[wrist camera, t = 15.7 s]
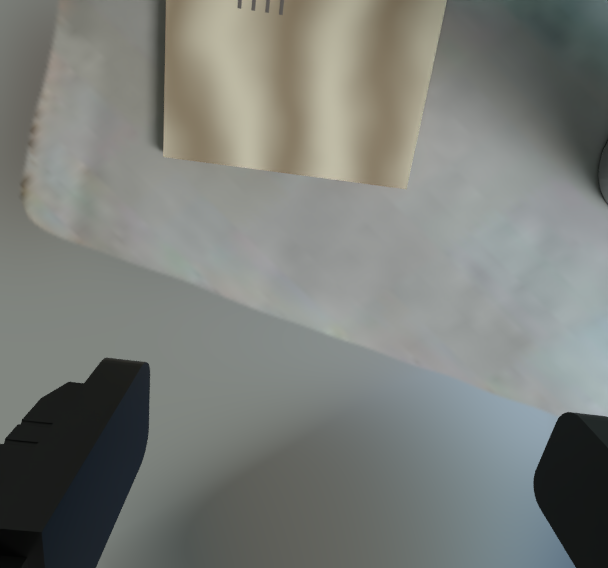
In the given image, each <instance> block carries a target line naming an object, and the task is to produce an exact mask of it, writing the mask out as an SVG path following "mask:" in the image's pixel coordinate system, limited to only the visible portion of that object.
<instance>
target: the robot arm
mask: <svg viewBox="0 0 608 568" xmlns="http://www.w3.org/2000/svg"><path fill="white" fill-rule="evenodd" d="M599 184H600V190H601V192H602V194H603V197H604V199H605V201H606V202H607V203H608V142H607V144H606V146H605V148H604V150H603V153H602V156H601V160H600V164H599ZM149 390H150V368H149V364H148V363H147V362H139V361H130V360H122V359H113V358H104V359H103V360H102V361H101V362H100V364H99V365H98V366H97V367H96V369H95V370H94V371H93V373H92V374H91V375H90V377H89V378H88V379H87V380H86V382H85V383H75V382H68V383H66V384H64V385H63V386H61V387H59V388H58V389H56V390H54V391H53V392H51V393H49V394H47V395H46V396H44V397H42V398H41V399H40V400H39V401H38V402H37V403H36V405H35V406H34V407H33V408H32V409H31V410H30V412H28V414H27V415H26V416H25V417H24V419H22V423H21V425H17V426H16V427H15V428H14V429H13V431H12V432H11V433H10V434H9V435H8V436H7V437H6V439H5V443H4V444H0V568H96V566H97V564H98V561H99V559H100V557H101V555H102V552H103V550H104V548H105V545H106V543H107V541H108V539H109V536H110V534H111V532H112V529H113V527H114V525H115V522H116V520H117V518H118V516H119V513H120V511H121V509H122V507H123V504H124V502H125V500H126V498H127V495H128V493H129V491H130V488H131V486H132V484H133V482H134V479H135V477H136V475H137V473H138V470H139V468H140V465H141V463H142V460H143V457H144V453H145V450H146V445H147V440H148V432H149V431H148V430H149V393H150V391H149ZM534 493H535V497H536V501H537V503H538V505H539V507H540V509H541V511H542V512H543V514H544V516H545V517H546V519H547V521H548V522H549V524H550V526H551V527H552V529H553V530H554V532H555V534H556V535H557V537H558V539H559V540H560V542H561V544H562V545H563V547H564V549H565V550H566V552H567V554H568V555H569V557H570V559H571V560H572V562H573V563H574V565H575V567H576V568H608V417H606V416H598V415H589V414H580V413H572V412H567V413H564V414H562V415H561V416H560V417H559V418H558V420H557V422H556V425H555V427H554V429H553V431H552V434H551V436H550V438H549V441H548V443H547V445H546V448H545V450H544V452H543V455H542V457H541V459H540V462H539V464H538V467H537V469H536V471H535V476H534Z"/></svg>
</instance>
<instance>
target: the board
mask: <svg viewBox="0 0 608 568" xmlns="http://www.w3.org/2000/svg"><path fill="white" fill-rule="evenodd" d="M446 3H447V0H166V29H165V85H164V142H163V157H168V158H176V159H183V160H191V161H198V162H206V163H213V164H221V165H228V166H236V167H243V168H251V169H258V170H266V171H273V172H281V173H288V174H296V175H303V176H311V177H319V178H326V179H334V180H341V181H349V182H356V183H364V184H371V185H379V186H386V187H394V188H401V189H407V184H408V180H409V175H410V170H411V166H412V161H413V156H414V152H415V147H416V142H417V138H418V133H419V129H420V124H421V119H422V115H423V110H424V105H425V101H426V96H427V91H428V87H429V82H430V77H431V73H432V68H433V63H434V59H435V54H436V49H437V45H438V40H439V35H440V31H441V26H442V21H443V17H444V12H445V7H446Z"/></svg>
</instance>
